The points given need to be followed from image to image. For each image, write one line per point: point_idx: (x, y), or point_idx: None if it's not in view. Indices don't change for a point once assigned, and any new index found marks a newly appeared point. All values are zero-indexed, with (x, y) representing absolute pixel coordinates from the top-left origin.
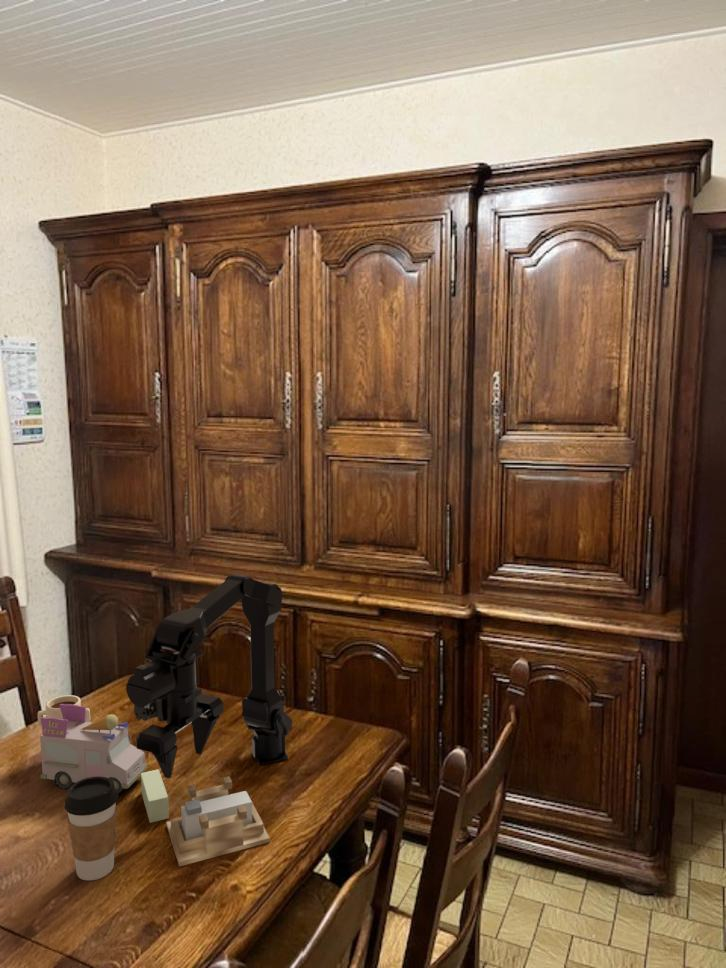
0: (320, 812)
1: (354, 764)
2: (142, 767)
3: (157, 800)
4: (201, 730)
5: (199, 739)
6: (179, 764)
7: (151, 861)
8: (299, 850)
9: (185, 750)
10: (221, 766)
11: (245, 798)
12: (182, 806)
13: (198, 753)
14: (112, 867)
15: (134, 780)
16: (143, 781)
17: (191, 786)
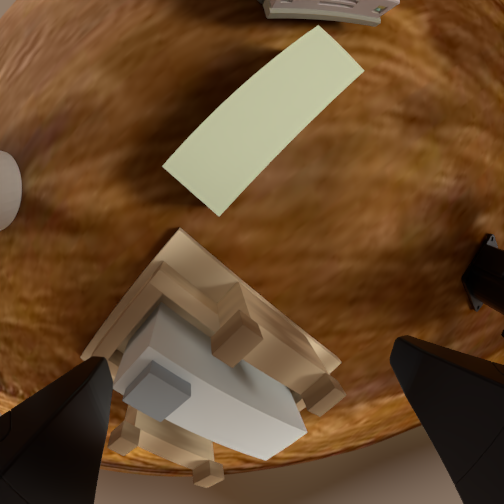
0: (339, 442)
1: None
2: (364, 15)
3: (187, 187)
4: (476, 450)
5: (444, 407)
6: (430, 91)
7: (59, 288)
8: (237, 467)
9: (465, 84)
10: (451, 197)
11: (274, 447)
12: (150, 350)
13: (394, 353)
14: (5, 227)
15: (307, 17)
16: (275, 57)
17: (245, 341)
